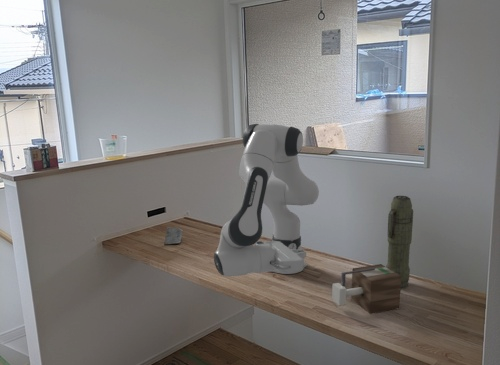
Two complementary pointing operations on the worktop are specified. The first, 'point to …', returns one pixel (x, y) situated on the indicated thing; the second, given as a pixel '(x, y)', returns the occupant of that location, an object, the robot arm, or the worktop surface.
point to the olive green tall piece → (400, 237)
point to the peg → (341, 292)
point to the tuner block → (377, 288)
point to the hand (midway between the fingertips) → (304, 253)
